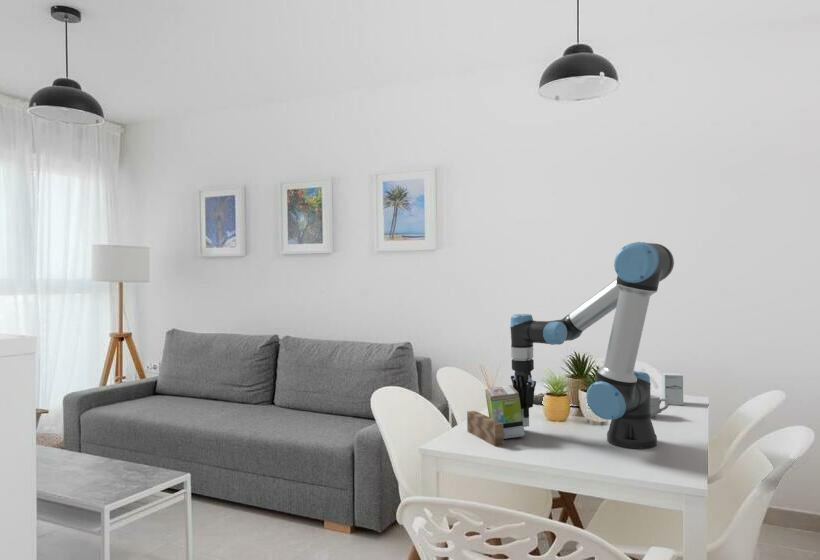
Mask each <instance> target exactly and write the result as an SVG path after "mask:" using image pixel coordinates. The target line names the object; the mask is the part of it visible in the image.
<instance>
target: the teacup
mask: <svg viewBox="0 0 820 560" xmlns="http://www.w3.org/2000/svg"><path fill="white" fill-rule="evenodd" d="M663 401H665V402H666V405H665V406H663V407H661V408H660V406H661V403H662V402H663ZM650 402H651V418H654V417H656V416H657V415H658V414H661V413H662V412H663V411H665V410H667V409H668V407H669V406H670V405H669V402H668V400H667V399H665V398H662V397H660V396H659V395H655V394H650Z"/></svg>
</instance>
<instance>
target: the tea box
mask: <svg viewBox="0 0 820 560" xmlns="http://www.w3.org/2000/svg"><path fill="white" fill-rule="evenodd" d="M484 391H485V399H486V405H487V413H488V417H490V418H492V419H494V420H496V421H499V422H501V423H503V435H504V439H511V438H518V437H524V436H525V427H524V426H523V419H522V413H521V406H520V398H519V393H518V392H517V391H516V390H515V389H514V387H513V384H511V385H509V384H508V385H504V386H503V385H502V386H497V387H496V386H495V387H491V388H490V387H489V388H485V389H484Z"/></svg>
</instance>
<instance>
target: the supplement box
mask: <svg viewBox="0 0 820 560" xmlns="http://www.w3.org/2000/svg"><path fill="white" fill-rule="evenodd" d="M661 384H662V385H661V389H662V391H661V398H665V399H667V400H668V402H669V406H670V405H671V406H684V374H682V373H681V372H667V371H666V372H664V371H663V372H661ZM662 403H663V404H664V405H665V406H666V402H665V401H662Z"/></svg>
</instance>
